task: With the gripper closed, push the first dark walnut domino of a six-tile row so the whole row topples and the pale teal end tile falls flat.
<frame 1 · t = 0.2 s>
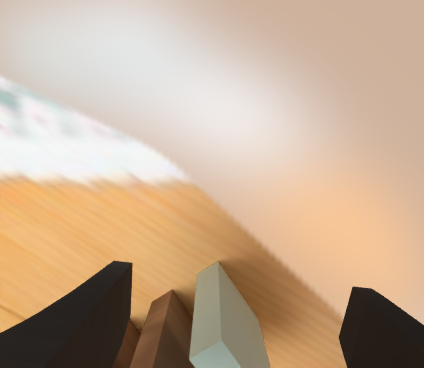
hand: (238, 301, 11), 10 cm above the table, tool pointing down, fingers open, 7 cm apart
domino4: (139, 351, 23), on the table
domino6: (228, 297, 22), on the table
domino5: (183, 324, 22), on the table
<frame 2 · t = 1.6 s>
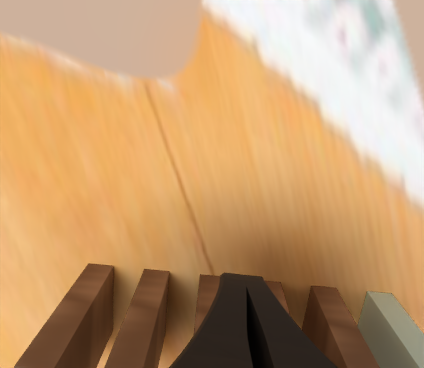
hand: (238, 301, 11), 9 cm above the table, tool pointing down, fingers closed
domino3: (208, 308, 22), on the table
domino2: (155, 302, 22), on the table
domino6: (370, 324, 22), on the table
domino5: (316, 318, 22), on the table
domino1: (101, 297, 22), on the table
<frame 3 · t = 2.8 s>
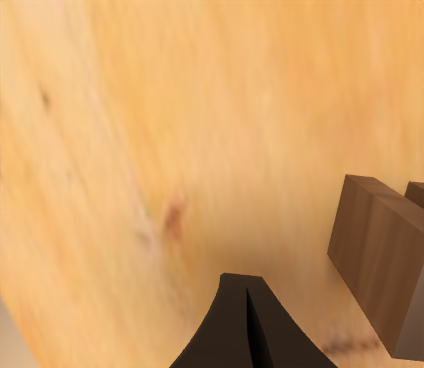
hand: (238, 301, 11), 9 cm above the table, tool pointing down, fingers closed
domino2: (410, 223, 19), on the table
domino1: (349, 216, 19), on the table
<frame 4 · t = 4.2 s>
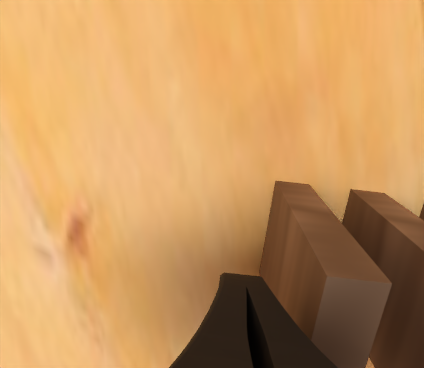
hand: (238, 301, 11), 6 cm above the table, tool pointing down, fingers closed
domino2: (354, 238, 16), on the table
domino1: (283, 230, 16), on the table
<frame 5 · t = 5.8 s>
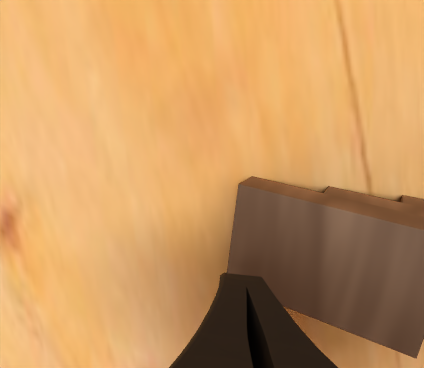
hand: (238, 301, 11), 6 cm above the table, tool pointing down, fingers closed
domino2: (314, 239, 16), point 1 cm above the table, tilted 64°, touching domino1, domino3
domino1: (238, 230, 16), point 1 cm above the table, tilted 64°, touching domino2
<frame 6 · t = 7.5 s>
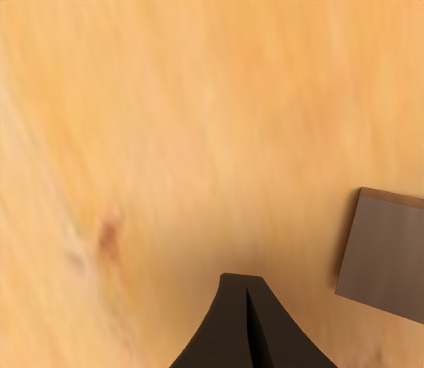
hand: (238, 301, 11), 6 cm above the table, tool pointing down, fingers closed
domino1: (348, 240, 16), point 1 cm above the table, tilted 65°, touching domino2
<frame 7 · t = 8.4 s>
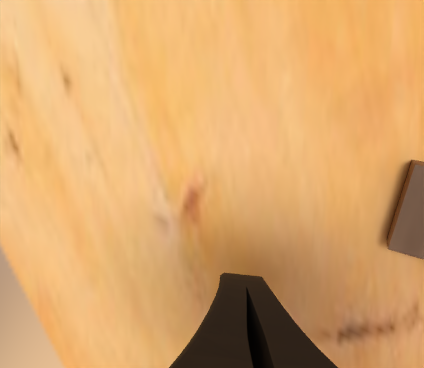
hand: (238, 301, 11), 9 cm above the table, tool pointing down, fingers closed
domino1: (400, 204, 19), point 1 cm above the table, tilted 66°, touching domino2
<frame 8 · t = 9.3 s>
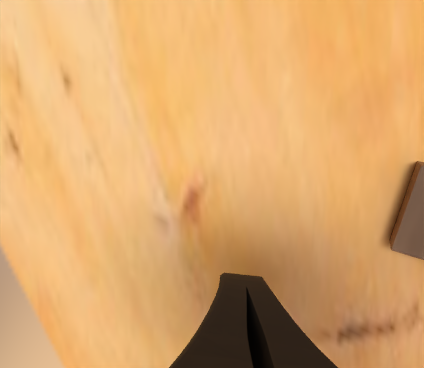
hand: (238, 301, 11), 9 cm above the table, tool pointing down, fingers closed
domino1: (404, 205, 19), point 1 cm above the table, tilted 67°, touching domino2
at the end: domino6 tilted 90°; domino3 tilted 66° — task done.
